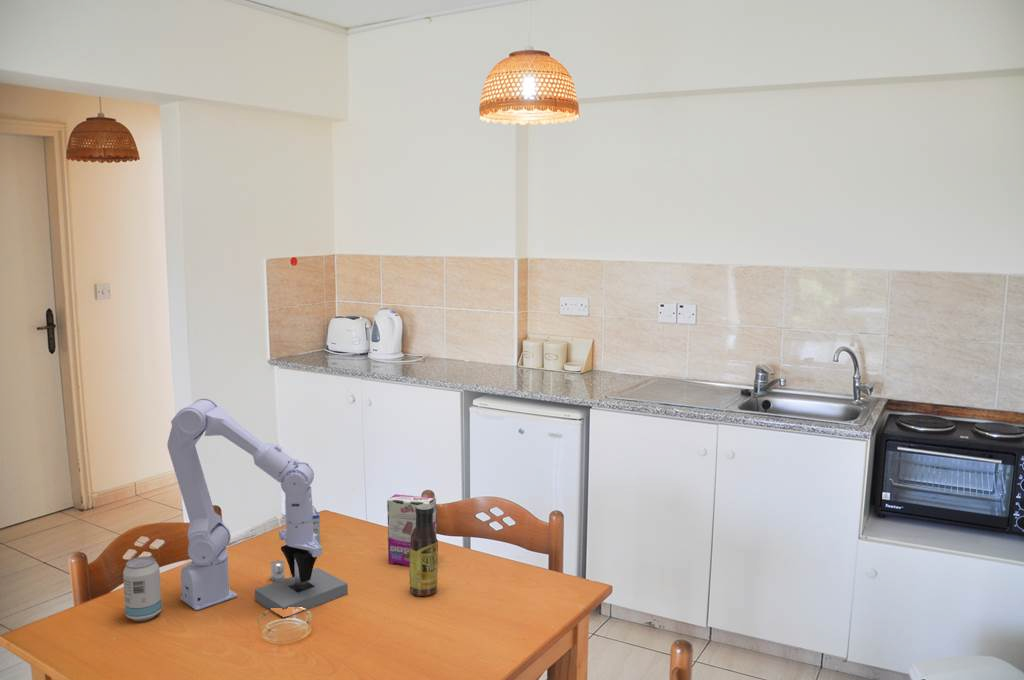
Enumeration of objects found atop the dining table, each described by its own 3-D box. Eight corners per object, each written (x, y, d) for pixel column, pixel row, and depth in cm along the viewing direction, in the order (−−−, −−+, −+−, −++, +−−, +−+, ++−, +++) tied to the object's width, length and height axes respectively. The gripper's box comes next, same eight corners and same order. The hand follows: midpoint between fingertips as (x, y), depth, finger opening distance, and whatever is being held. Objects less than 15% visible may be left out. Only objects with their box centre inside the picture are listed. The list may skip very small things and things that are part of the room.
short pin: (275, 583, 185) (274, 566, 184) (268, 579, 187) (268, 563, 186) (287, 579, 187) (286, 562, 187) (280, 575, 189) (279, 559, 189)
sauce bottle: (424, 600, 177) (423, 514, 174) (403, 592, 181) (402, 507, 178) (444, 589, 182) (443, 505, 179) (424, 582, 186) (423, 500, 183)
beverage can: (169, 610, 172) (166, 557, 170) (146, 625, 165) (143, 570, 163) (142, 606, 173) (138, 553, 172) (118, 621, 167) (114, 566, 165)
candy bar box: (437, 561, 197) (437, 497, 195) (429, 569, 193) (429, 504, 190) (396, 555, 201) (395, 492, 198) (387, 563, 196) (386, 499, 194)
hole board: (283, 618, 168) (283, 607, 168) (255, 600, 176) (254, 589, 176) (347, 594, 180) (347, 583, 179) (318, 577, 188) (317, 567, 188)
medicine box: (297, 538, 211) (296, 507, 210) (314, 536, 213) (313, 504, 212) (303, 549, 204) (302, 517, 203) (321, 546, 206) (320, 514, 205)
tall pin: (300, 597, 176) (299, 558, 175) (292, 592, 178) (291, 554, 177) (311, 592, 178) (310, 553, 177) (304, 588, 180) (302, 550, 179)
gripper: (333, 523, 173) (335, 582, 175) (297, 506, 183) (299, 563, 185) (304, 532, 168) (306, 593, 170) (269, 514, 178) (271, 572, 180)
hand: (301, 578), depth 177 cm, fingers closed on tall pin, 3 cm apart
